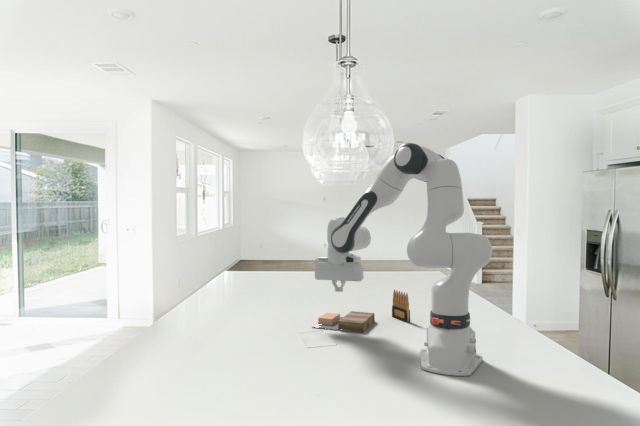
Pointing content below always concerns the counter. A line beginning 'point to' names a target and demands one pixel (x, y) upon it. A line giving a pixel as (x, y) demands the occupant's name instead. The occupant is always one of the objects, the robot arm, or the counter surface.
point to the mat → (334, 326)
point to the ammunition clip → (400, 306)
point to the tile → (329, 318)
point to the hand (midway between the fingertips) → (339, 291)
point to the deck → (356, 321)
